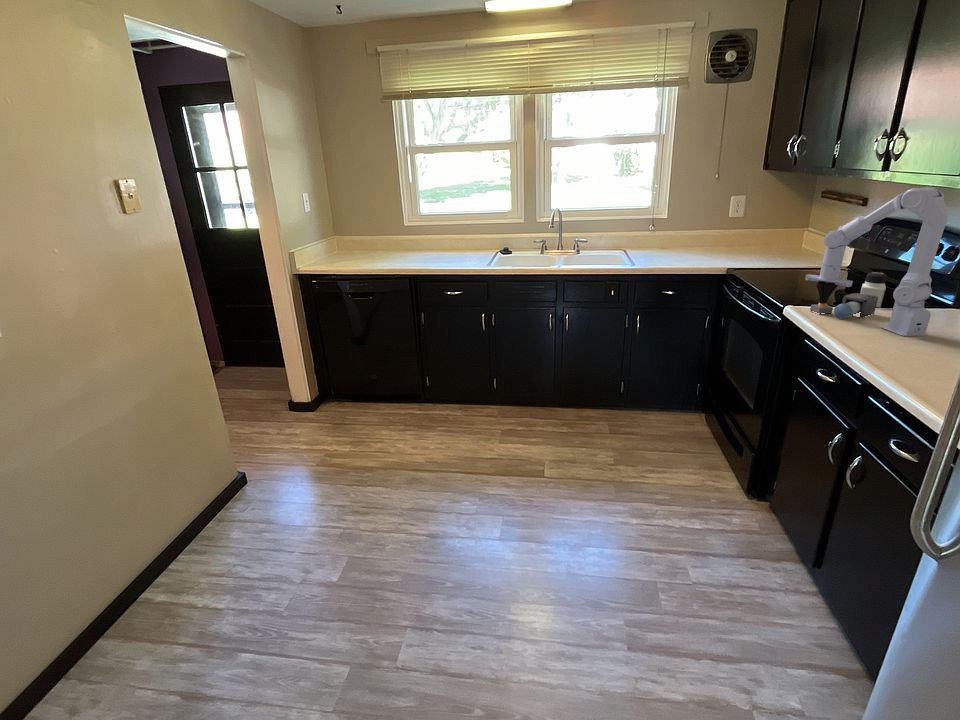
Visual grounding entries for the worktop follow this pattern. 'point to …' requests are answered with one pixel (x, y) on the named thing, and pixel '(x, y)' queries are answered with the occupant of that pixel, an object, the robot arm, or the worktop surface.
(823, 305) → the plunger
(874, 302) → the block
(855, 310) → the cylinder
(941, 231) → the robot arm
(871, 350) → the worktop surface
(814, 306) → the block
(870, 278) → the medicine bottle
